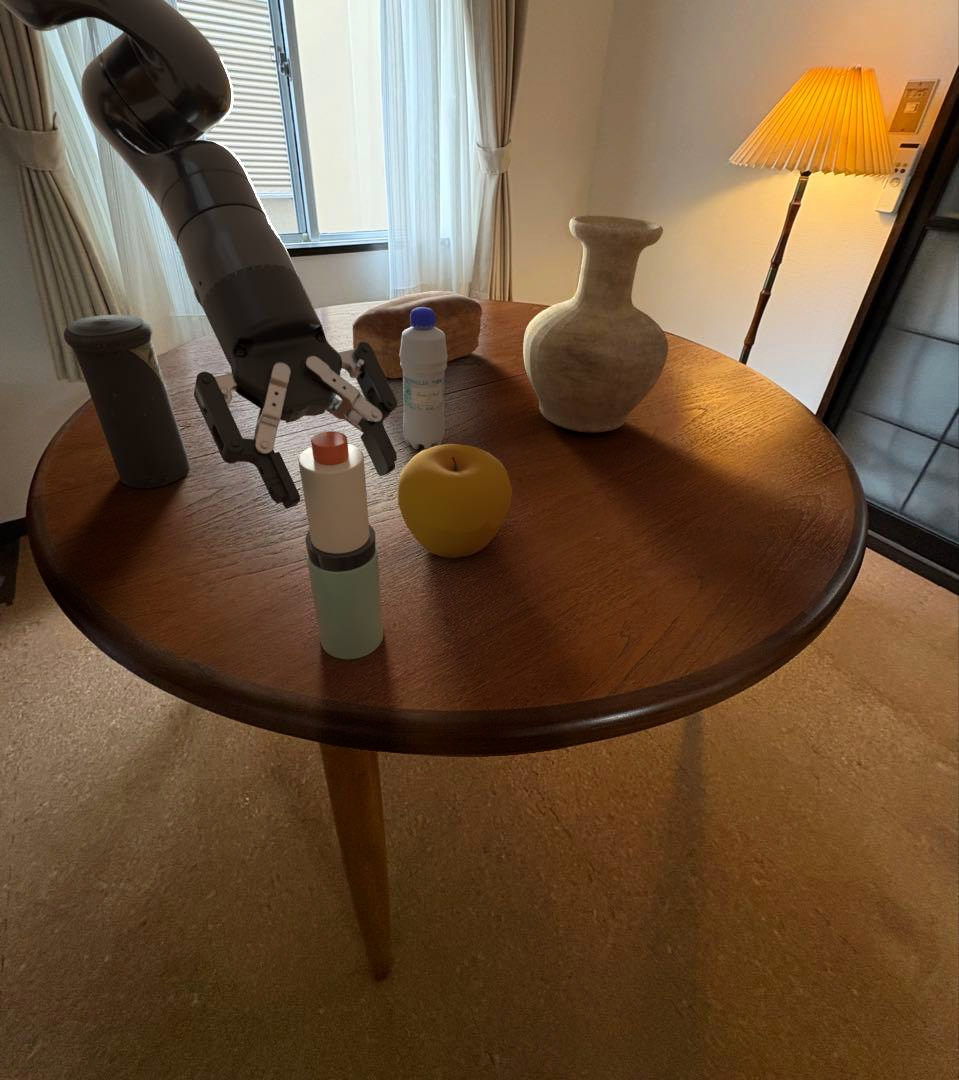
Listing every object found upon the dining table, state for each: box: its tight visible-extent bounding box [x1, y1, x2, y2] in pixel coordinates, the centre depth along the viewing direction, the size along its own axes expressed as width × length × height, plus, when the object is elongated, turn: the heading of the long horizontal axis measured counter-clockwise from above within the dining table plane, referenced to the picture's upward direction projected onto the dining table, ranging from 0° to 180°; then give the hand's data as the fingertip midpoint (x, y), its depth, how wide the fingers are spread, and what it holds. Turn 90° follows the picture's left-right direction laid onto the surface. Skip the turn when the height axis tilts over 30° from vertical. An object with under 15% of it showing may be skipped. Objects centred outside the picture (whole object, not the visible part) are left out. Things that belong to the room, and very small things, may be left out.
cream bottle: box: [297, 430, 370, 554], centre depth 44 cm, size 5×5×9 cm
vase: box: [522, 215, 669, 434], centre depth 87 cm, size 22×22×30 cm
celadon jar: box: [304, 523, 385, 660], centre depth 50 cm, size 6×6×12 cm
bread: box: [352, 290, 483, 379], centre depth 112 cm, size 14×28×12 cm, turn 141°
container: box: [63, 314, 191, 489], centre depth 69 cm, size 9×9×20 cm
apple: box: [396, 443, 513, 559], centre depth 64 cm, size 13×13×11 cm
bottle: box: [400, 307, 448, 450], centre depth 80 cm, size 7×7×20 cm
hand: (343, 487), depth 43 cm, fingers open, 7 cm apart
